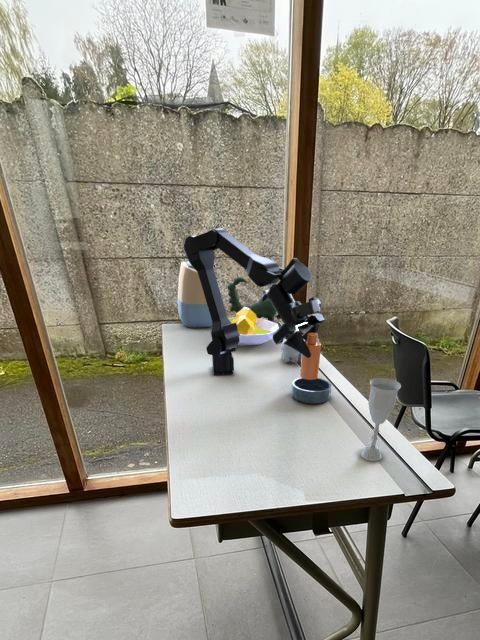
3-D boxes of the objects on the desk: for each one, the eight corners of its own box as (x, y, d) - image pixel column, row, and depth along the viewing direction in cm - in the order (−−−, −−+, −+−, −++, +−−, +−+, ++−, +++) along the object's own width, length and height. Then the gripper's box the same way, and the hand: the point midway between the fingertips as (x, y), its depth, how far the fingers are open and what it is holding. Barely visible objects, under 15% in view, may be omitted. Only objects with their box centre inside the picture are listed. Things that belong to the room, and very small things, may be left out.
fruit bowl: (290, 340, 179) (292, 310, 172) (251, 355, 160) (251, 323, 153) (236, 326, 190) (236, 298, 183) (194, 340, 171) (192, 309, 164)
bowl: (296, 405, 127) (297, 392, 125) (287, 389, 136) (288, 377, 134) (334, 403, 129) (336, 391, 127) (323, 388, 139) (325, 376, 136)
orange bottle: (306, 380, 124) (310, 337, 117) (296, 374, 128) (299, 332, 121) (321, 378, 127) (325, 335, 119) (311, 372, 130) (315, 330, 123)
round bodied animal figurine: (314, 364, 156) (317, 340, 151) (281, 364, 155) (283, 339, 150) (311, 357, 162) (313, 334, 157) (279, 357, 160) (280, 333, 155)
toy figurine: (231, 326, 196) (286, 323, 197) (226, 280, 184) (284, 276, 185) (231, 321, 203) (284, 318, 204) (226, 275, 191) (283, 272, 193)
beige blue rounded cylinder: (221, 328, 187) (219, 267, 173) (181, 329, 183) (176, 266, 168) (215, 318, 199) (212, 260, 185) (178, 318, 195) (172, 259, 181)
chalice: (354, 448, 108) (366, 377, 98) (380, 448, 109) (395, 378, 98) (360, 463, 103) (374, 390, 92) (388, 463, 103) (405, 390, 92)
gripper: (283, 290, 108) (317, 346, 111) (322, 282, 121) (351, 331, 123) (258, 318, 117) (289, 369, 119) (296, 307, 129) (324, 353, 131)
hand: (315, 354), depth 123 cm, fingers closed on orange bottle, 5 cm apart
